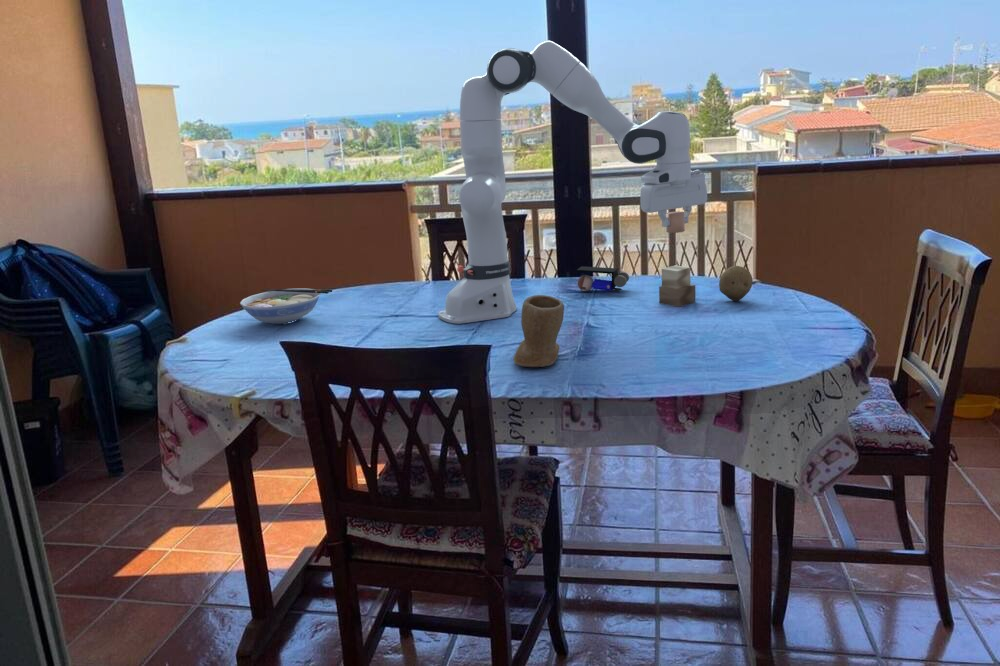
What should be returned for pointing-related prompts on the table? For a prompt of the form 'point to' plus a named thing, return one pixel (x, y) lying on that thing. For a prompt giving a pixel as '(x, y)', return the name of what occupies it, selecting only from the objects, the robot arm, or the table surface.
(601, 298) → the table surface
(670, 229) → the tan rounded cylinder
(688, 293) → the tower base
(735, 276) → the natural sponge
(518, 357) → the stone cup
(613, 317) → the table surface
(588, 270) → the toy car
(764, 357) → the table surface
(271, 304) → the ramen bowl
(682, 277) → the tower top
